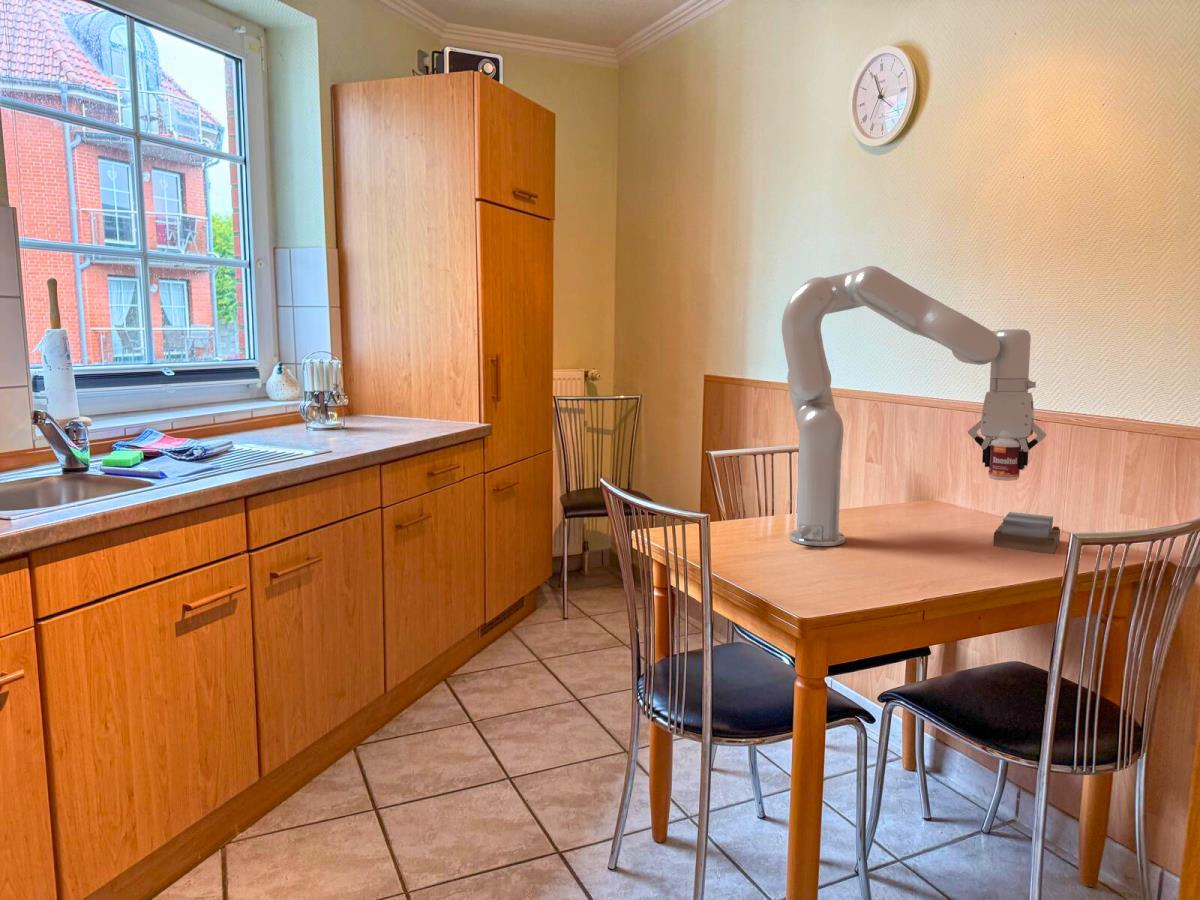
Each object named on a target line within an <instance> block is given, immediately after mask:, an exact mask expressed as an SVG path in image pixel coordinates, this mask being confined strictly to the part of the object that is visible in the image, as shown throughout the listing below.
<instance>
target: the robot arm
mask: <svg viewBox="0 0 1200 900" xmlns="http://www.w3.org/2000/svg"><path fill="white" fill-rule="evenodd" d="M861 307H867V308H868V309H870V310H872V311H874V312H875V313H876V314H878V315H880V316H881V317H883V318H885V319H887V320H889V321H890V322H892V323H894V324H895V325H897V326H899V327H900V328H902V329H903V330H905V331H908V332H909V333H912V334H914V335H917V336H922V337H924V338H926V339H929V340H931V341H934V342H935V343H938V344H939V345H942V346H944V347H945V348H947V349H949V350H950V351H951V353H952V355H953V357H954V358H955V359H956V360H958V361H960V362H961V363H965V364H970V365H977V366H983V365H987V364H989V363H990V370H989V371H990V374H989V375H990V376H989V391H987V392H985V396H984V400H983V403H982V404H983V405H982V412H981V418H980V420H979V421H978V422H977V423H976V424H974V425H973V426H972V427H971V428H970V429H969V430H967V434H968V435H969V436H970V437H971V438H972V439H973V440H974V441H975V442H976V444H978V445H979V446H980V448H981V449H982V457H981V458H982V459H981V460H982V461H981V462H982V463H983V464H984V467H985V468H989V458H990V443H991V440H992V439H994V438H998V437H1000V436H999V434H1000V432H1001V431H1009V433H1010V435H1011V436H1010V437H1009V438H1012V439H1018V440H1019V442H1020V445H1021V451H1020V456H1019V469H1020V471H1021V470H1024V469H1025V467H1026V466H1027V467H1028V465H1029V451H1030V450H1031V449H1032V448H1034V447H1035V446H1036V445H1038V443H1040V442H1041V441H1042V440H1044V439H1045V438H1046V437H1047V433H1046V432H1045V431H1044V430H1043V429H1042V428H1041V427H1039V426H1038V424H1037V423H1035V421H1034V420H1035V419H1034V418H1035V416H1034V415H1035V414H1034V412H1035V409H1034V398H1033V393H1032V392H1028V391H1029V390H1030V389H1032V388H1033V389H1034V388H1035V389H1036V388H1037V387H1036V386H1037V384H1036V383H1037V382H1036V381H1033V380H1030V377H1029V374H1030V359H1031V357H1030V356H1031V341H1032V340H1031V339H1032V338H1031V333H1030V331H1029V330H1026V329H1020V328H1019V329H1016V328H1015V329H1014V328H1013V329H999V330H990V329H988V328H987V327H986V326H984V325H982V324H980V323H979V322H977V321H975V320H973V318H970V317H969V316H967V315H964V314H963V313H961V312H959V311H957V310H955V309H953V308H951V307H949V306H948V305H946V304H944V303H942V302H940V301H939V300H937V299H935V298H933V297H931V296H930V295H928V294H927V293H924V292H923V291H921V290H919V289H917V288H915V287H914V286H912V285H910V284H908V283H907V282H906V281H904V280H902V279H900V278H899V277H897V276H896V275H893V274H891V272H888V271H887V270H885V269H883V268H881V267H879V266H875V265H868V266H865V267H864V266H863V267H862V268H859V269H856V270H853V271H849V272H845V273H840V274H837V275H831V276H827V277H821V276H818V277H817V276H816V277H812V278H809V279H808V280H807V281H805V282H804V283H803V284H802V285H800V287H799V288H798V289H797V290H796V291H795V292H794V293H793V295H792V296H791V297H790V298H789V300H788V302H787V303H786V305H785V308H784V310H783V314H782V318H781V319H782V320H781V333H782V341H783V347H784V352H785V358H786V363H787V368H788V371H787V376H786V377H787V378H786V379H787V385H788V391H789V395H790V399H791V404H792V407H793V412H794V417H795V421H796V426H797V428H798V435H799V436H798V438H799V439H798V441H799V442H798V454H797V455H798V456H797V457H798V459H797V493H796V494H797V499H796V500H797V502H796V503H797V504H796V529H795V530H792V531H790V533H789V539H790V541H792V542H794V543H796V544H799V545H805V546H813V547H834V546H840V545H842V544H844V543H845V542H846V535H845V534H843V533H842V532H839V528H840V500H841V469H842V468H841V467H842V453H843V452H842V450H843V443H844V442H843V441H844V434H845V433H844V422H843V419H842V417H841V414H840V413H839V412H838V411H837V409H836V406H835V401H834V398H833V393H832V388H831V385H832V374H831V370H830V368H829V366H828V361H827V357H826V352H825V347H824V341H823V336H822V321H823V318H824V317H825V315H829V314H834V313H840V312H843V311H848V310H849V311H850V310H854V309H857V308H861ZM979 430H980V434H981V435H980V434H979V433H978V431H979ZM1033 433H1035V435H1036V436H1035V437H1034V438H1033V439H1032V440H1031V441H1029V439H1028V438H1030V437H1031V436H1033ZM982 436H983V437H985V438H983V437H982Z"/></svg>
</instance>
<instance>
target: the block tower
mask: <svg viewBox="0 0 1200 900" xmlns="http://www.w3.org/2000/svg"><path fill="white" fill-rule="evenodd" d="M1053 523H1054V516H1052V515H1042V514H1041V515H1040V514H1033V513H1025V512H1024V513H1022V512H1016V511H1015V512H1014V511H1009V512H1008V513H1007V515H1005V517H1004V518H1003V520H1002V522H1001V523H1000V525H999V526H998V527H997V528H996V530H995V531H994V532H993V539H992V543H993V544H992V547H997V548H1007V549H1015V550H1022V551H1027V552H1028V551H1029V552H1037V553H1045V554H1050V555H1051V554H1052V555H1054V554H1055V552H1056V550H1057V548H1058V545H1059V543H1060V541H1061V540H1060V538H1061V528H1060V526H1053Z"/></svg>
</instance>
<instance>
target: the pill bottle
mask: <svg viewBox="0 0 1200 900" xmlns="http://www.w3.org/2000/svg"><path fill="white" fill-rule="evenodd" d="M999 436H1000V437H998V438H993V439H992V440H991V443H990V458H989V467H988V477H989V478H990V479H993V480H997V481H1017V480H1018V479H1020V473H1021V472H1020V471H1021V470H1020V469H1019V456H1020V451H1021V449H1022V447H1021V445H1020V442H1019V440H1018V439H1012V438H1009V437H1010V436H1011V435H1010V433H1009V431H1001V432H1000V434H999Z"/></svg>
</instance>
